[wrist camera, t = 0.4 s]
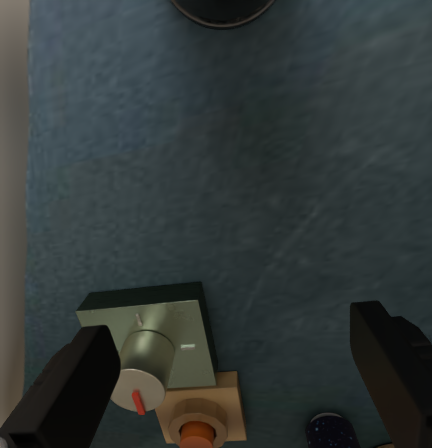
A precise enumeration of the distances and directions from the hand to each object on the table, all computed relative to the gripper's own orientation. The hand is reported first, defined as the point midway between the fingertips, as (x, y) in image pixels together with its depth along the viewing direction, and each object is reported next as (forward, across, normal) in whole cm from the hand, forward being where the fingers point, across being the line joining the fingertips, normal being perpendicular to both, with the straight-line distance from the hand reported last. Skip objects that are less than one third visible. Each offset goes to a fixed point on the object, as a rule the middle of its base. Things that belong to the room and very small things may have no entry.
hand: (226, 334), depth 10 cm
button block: (+18, +7, +26) cm, 32 cm away
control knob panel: (+18, +10, +14) cm, 25 cm away
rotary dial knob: (+15, +10, +14) cm, 23 cm away
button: (+14, +7, +26) cm, 30 cm away
